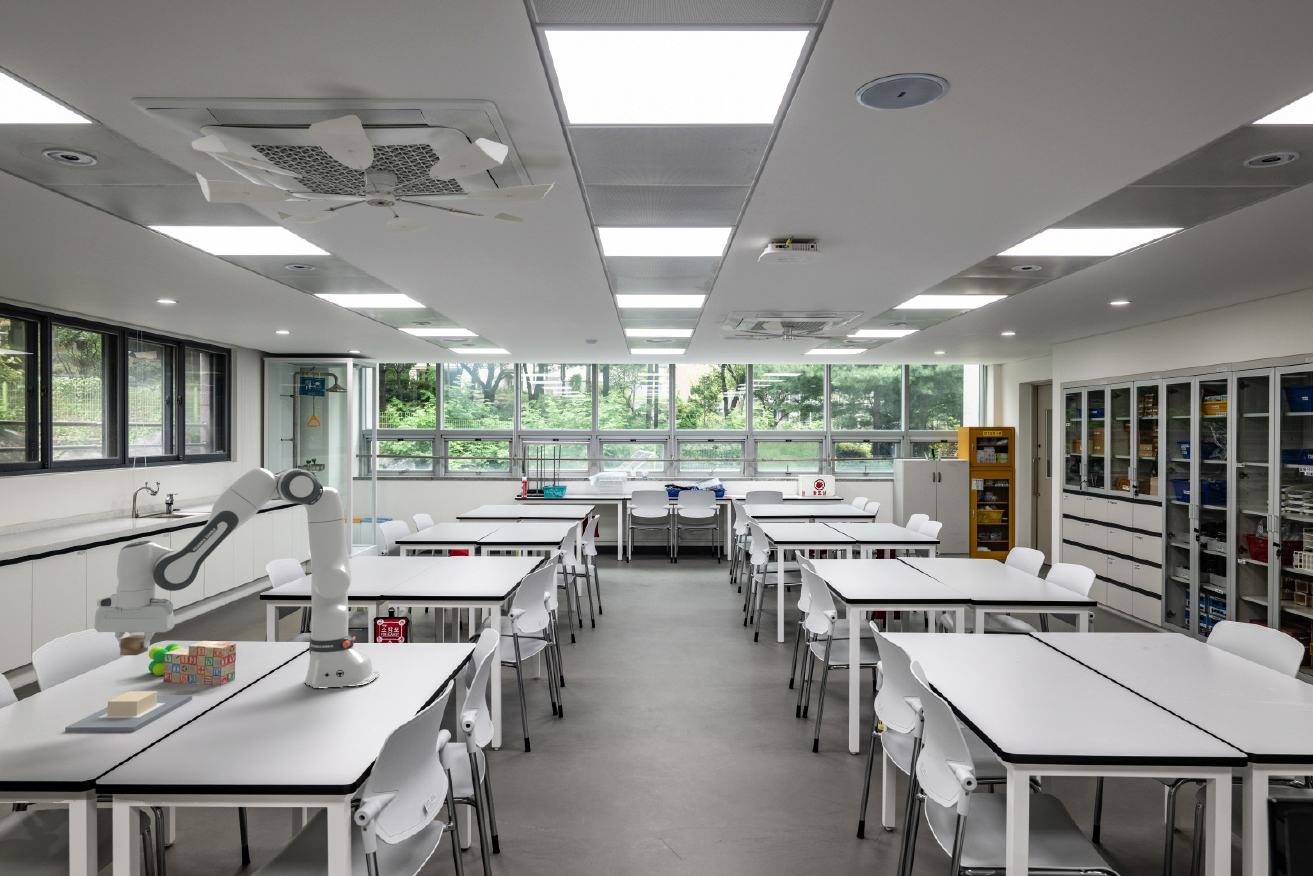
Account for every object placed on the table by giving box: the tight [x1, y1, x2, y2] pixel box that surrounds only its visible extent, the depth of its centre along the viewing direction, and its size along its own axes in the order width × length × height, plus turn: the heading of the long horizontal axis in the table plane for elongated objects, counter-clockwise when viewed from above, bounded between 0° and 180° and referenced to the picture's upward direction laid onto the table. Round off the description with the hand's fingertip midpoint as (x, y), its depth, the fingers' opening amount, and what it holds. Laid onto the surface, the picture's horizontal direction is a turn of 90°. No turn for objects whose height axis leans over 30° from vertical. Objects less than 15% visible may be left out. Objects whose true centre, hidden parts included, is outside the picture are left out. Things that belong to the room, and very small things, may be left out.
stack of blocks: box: [163, 640, 237, 687], centre depth 225 cm, size 21×6×12 cm, turn 81°
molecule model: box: [148, 643, 184, 677], centre depth 232 cm, size 9×9×9 cm
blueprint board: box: [64, 690, 193, 733], centre depth 195 cm, size 18×24×5 cm
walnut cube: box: [119, 634, 149, 656], centre depth 195 cm, size 4×4×4 cm
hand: (134, 647), depth 195 cm, fingers closed on walnut cube, 4 cm apart
